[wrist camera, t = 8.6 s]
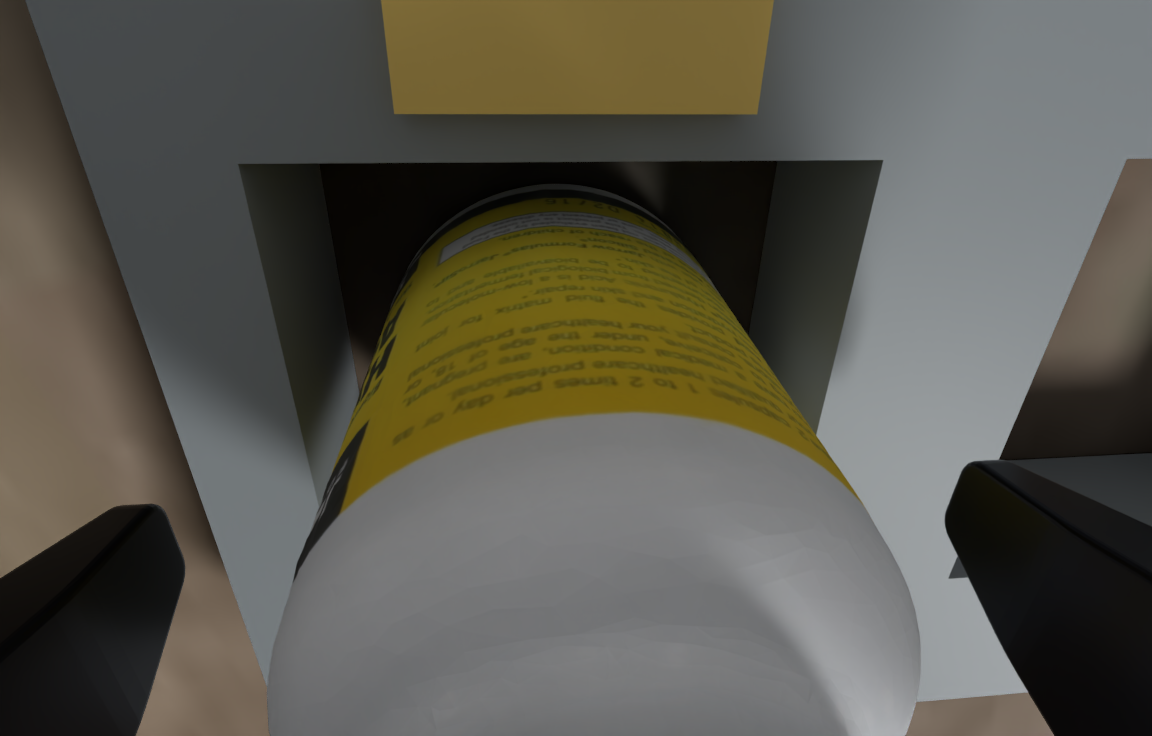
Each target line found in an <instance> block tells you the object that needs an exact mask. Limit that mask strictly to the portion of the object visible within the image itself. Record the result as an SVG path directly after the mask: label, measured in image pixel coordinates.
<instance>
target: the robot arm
mask: <svg viewBox="0 0 1152 736" xmlns="http://www.w3.org/2000/svg"><path fill="white" fill-rule="evenodd" d="M944 521H945V528H946V532H947V535H948V537H949V539H950V541H951V543H952V545H953V547H954V550H955V552H956V554H957V556H958V558H959V560H960V562H961V564H962V566H963V568H964V570H965V572H966V574H967V577H968V579H969V581H970V583H971V585H972V587H973V589H974V591H975V593H976V595H977V597H978V599H979V601H980V603H981V606H982V608H983V610H984V612H985V614H986V616H987V618H988V620H989V622H990V624H991V626H992V628H993V630H994V632H995V634H996V636H997V638H998V640H999V642H1000V644H1001V646H1002V648H1003V650H1004V652H1005V654H1006V655H1007V657H1008V659H1009V661H1010V662H1011V664H1012V666H1013V668H1014V669H1015V671H1016V673H1017V675H1018V676H1019V678H1020V680H1021V681H1022V683H1023V685H1024V686H1025V688H1026V690H1027V691H1028V693H1029V695H1030V696H1031V698H1032V699H1033V701H1034V703H1035V704H1036V706H1037V708H1038V709H1039V711H1040V713H1041V714H1042V716H1043V718H1044V719H1045V721H1046V723H1047V724H1048V726H1049V728H1050V729H1051V731H1052V733H1053V734H1054V736H1152V526H1150V525H1147V524H1145V523H1143V522H1141V521H1139V520H1136V519H1134V518H1132V517H1130V516H1128V515H1126V514H1123V513H1121V512H1119V511H1117V510H1115V509H1112V508H1110V507H1108V506H1106V505H1104V504H1102V503H1099V502H1097V501H1095V500H1093V499H1091V498H1088V497H1086V496H1084V495H1082V494H1080V493H1077V492H1075V491H1073V490H1071V489H1069V488H1067V487H1064V486H1062V485H1060V484H1058V483H1056V482H1053V481H1051V480H1049V479H1047V478H1045V477H1043V476H1040V475H1038V474H1036V473H1034V472H1032V471H1029V470H1027V469H1025V468H1023V467H1021V466H1018V465H1016V464H1014V463H1012V462H1009V461H1006V460H982V461H973V462H970V463H968V464H967V465H966V466H965V467H964V468H963V469H962V471H961V473H960V476H959V478H958V481H957V484H956V486H955V489H954V491H953V494H952V496H951V499H950V501H949V504H948V506H947V509H946V512H945V519H944ZM184 577H185V562H184V558H183V555H182V552H181V550H180V547H179V545H178V542H177V540H176V537H175V534H174V532H173V529H172V527H171V524H170V522H169V519H168V517H167V515H166V513H165V511H164V510H163V509H162V508H161V507H160V506H158V505H155V504H138V505H122V506H116V507H113V508H111V509H109V510H108V511H106V512H105V513H103V514H101V515H100V516H98V517H97V518H95V519H93V520H92V521H90V522H89V523H87V524H86V525H84V526H82V527H81V528H79V529H78V530H76V531H74V532H73V533H71V534H70V535H68V536H66V537H65V538H63V539H62V540H60V541H59V542H57V543H55V544H54V545H52V546H51V547H49V548H47V549H46V550H44V551H43V552H41V553H40V554H38V555H36V556H35V557H33V558H32V559H30V560H28V561H27V562H25V563H24V564H22V565H20V566H19V567H17V568H16V569H14V570H13V571H11V572H9V573H8V574H6V575H5V576H3V577H1V578H0V736H136V733H137V730H138V728H139V725H140V723H141V720H142V717H143V714H144V711H145V708H146V705H147V702H148V699H149V696H150V692H151V689H152V686H153V682H154V679H155V676H156V672H157V669H158V666H159V662H160V659H161V656H162V652H163V649H164V646H165V643H166V639H167V636H168V633H169V629H170V626H171V623H172V619H173V616H174V613H175V609H176V606H177V603H178V599H179V596H180V593H181V589H182V586H183V582H184Z"/></svg>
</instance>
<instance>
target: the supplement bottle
mask: <svg viewBox="0 0 1152 736" xmlns="http://www.w3.org/2000/svg"><path fill="white" fill-rule="evenodd" d="M920 674H921V644H920V633H919V628H918V622H917V617H916V611H915V608H914V604H913V601H912V598H911V595H910V591H909V588H908V586H907V583H906V581H905V579H904V577H903V574H902V572H901V570H900V568H899V566H898V564H897V562H896V560H895V558H894V556H893V554H892V552H891V551H890V549H889V547H888V545H887V544H886V542H885V541H884V539H883V537H882V536H881V534H880V532H879V531H878V529H877V527H876V526H875V524H874V522H873V520H872V518H871V517H870V515H869V513H868V511H867V510H866V508H865V506H864V505H863V503H862V501H861V500H860V498H859V497H858V495H857V494H856V492H855V491H854V489H853V488H852V487H851V485H850V484H849V482H848V481H847V479H846V478H845V476H844V475H843V473H842V472H841V470H840V469H839V468H838V466H837V465H836V464H835V462H834V461H833V460H832V458H831V457H830V455H829V454H828V452H827V450H826V449H825V447H824V446H823V444H822V443H821V442H820V440H819V439H818V437H817V436H816V435H815V433H814V432H813V430H812V429H811V427H810V426H809V424H808V423H807V422H806V420H805V419H804V417H803V416H802V414H801V413H800V411H799V410H798V409H797V407H796V406H795V404H794V403H793V401H792V400H791V398H790V396H789V395H788V393H787V392H786V391H785V389H784V388H783V386H782V385H781V383H780V382H779V380H778V379H777V377H776V376H775V374H774V373H773V371H772V370H771V368H770V367H769V366H768V364H767V363H766V361H765V359H764V358H763V357H762V355H761V354H760V352H759V351H758V349H757V348H756V347H755V345H754V344H753V342H752V341H751V339H750V338H749V336H748V335H747V334H746V332H745V331H744V329H743V328H742V326H741V325H740V323H739V322H738V320H737V319H736V317H735V316H734V314H733V313H732V311H731V310H730V308H729V307H728V306H727V304H726V303H725V301H724V300H723V298H722V297H721V295H720V294H719V292H718V291H717V289H716V288H715V286H714V285H713V283H712V281H711V280H710V279H709V277H708V276H707V274H706V273H705V271H704V270H703V269H702V267H701V266H700V264H699V263H698V262H697V260H696V259H695V257H694V256H693V255H692V254H691V252H690V251H689V250H688V249H687V247H686V246H685V245H684V244H683V242H682V241H681V240H680V239H679V238H678V237H677V236H676V235H675V233H674V232H673V231H672V230H671V229H670V228H669V227H668V226H667V225H666V224H664V223H663V222H662V221H661V220H660V219H658V218H657V217H656V216H654V215H653V214H652V213H650V212H649V211H647V210H646V209H644V208H642V207H640V206H639V205H637V204H635V203H633V202H631V201H629V200H627V199H625V198H623V197H621V196H618V195H616V194H613V193H610V192H607V191H604V190H600V189H596V188H592V187H586V186H581V185H572V184H540V185H532V186H526V187H521V188H517V189H513V190H509V191H504V192H502V193H499V194H496V195H493V196H490V197H488V198H485V199H483V200H481V201H479V202H477V203H475V204H473V205H471V206H469V207H468V208H466V209H464V210H463V211H461V212H459V213H458V214H456V215H455V216H454V217H452V218H451V219H449V220H448V221H447V222H445V223H444V224H443V225H442V226H441V227H439V228H438V229H437V230H436V231H435V232H434V233H433V234H432V235H431V236H430V237H429V239H428V240H427V241H426V242H425V243H424V245H423V246H422V247H421V248H420V250H419V251H418V252H417V254H416V255H415V257H414V258H413V260H412V262H411V263H410V265H409V267H408V269H407V271H406V272H405V274H404V276H403V278H402V280H401V282H400V285H399V287H398V290H397V292H396V294H395V296H394V299H393V301H392V303H391V305H390V308H389V311H388V315H387V318H386V322H385V324H384V327H383V330H382V333H381V336H380V338H379V341H378V343H377V346H376V349H375V352H374V355H373V358H372V361H371V364H370V366H369V369H368V372H367V375H366V377H365V380H364V383H363V385H362V388H361V391H360V394H359V397H358V400H357V403H356V406H355V408H354V411H353V414H352V417H351V420H350V423H349V426H348V429H347V432H346V435H345V437H344V440H343V443H342V446H341V449H340V451H339V454H338V457H337V460H336V463H335V466H334V469H333V471H332V474H331V477H330V479H329V481H328V483H327V486H326V489H325V492H324V495H323V499H322V502H321V504H320V506H319V509H318V511H317V514H316V517H315V520H314V523H313V526H312V529H311V531H310V534H309V536H308V538H307V540H306V542H305V545H304V548H303V550H302V553H301V555H300V557H299V559H298V562H297V565H296V570H295V574H294V579H293V584H292V586H291V588H290V593H289V597H288V601H287V603H286V606H285V609H284V612H283V616H282V620H281V623H280V626H279V629H278V632H277V635H276V638H275V641H274V644H273V650H272V656H271V662H270V669H269V676H268V686H267V707H268V726H269V733H270V736H905V735H906V733H907V730H908V727H909V724H910V721H911V718H912V715H913V712H914V709H915V704H916V700H917V696H918V690H919V685H920Z"/></svg>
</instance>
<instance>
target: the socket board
mask: <svg viewBox="0 0 1152 736" xmlns="http://www.w3.org/2000/svg"><path fill="white" fill-rule="evenodd" d="M25 1H26V4H27V7H28V10H29V13H30V15H31V18H32V21H33V24H34V27H35V30H36V33H37V35H38V38H39V41H40V44H41V47H42V50H43V52H44V55H45V58H46V61H47V64H48V67H49V69H50V72H51V75H52V78H53V81H54V84H55V86H56V89H57V92H58V95H59V98H60V101H61V104H62V106H63V109H64V112H65V115H66V118H67V121H68V123H69V126H70V129H71V132H72V135H73V138H74V140H75V143H76V146H77V149H78V152H79V155H80V157H81V160H82V163H83V166H84V169H85V172H86V174H87V177H88V180H89V183H90V186H91V189H92V192H93V194H94V197H95V200H96V203H97V206H98V209H99V211H100V214H101V217H102V220H103V223H104V226H105V228H106V231H107V234H108V237H109V240H110V243H111V245H112V248H113V251H114V254H115V257H116V260H117V262H118V265H119V268H120V271H121V274H122V277H123V280H124V282H125V285H126V288H127V291H128V294H129V297H130V299H131V302H132V305H133V308H134V311H135V314H136V316H137V319H138V322H139V325H140V328H141V331H142V333H143V336H144V339H145V342H146V345H147V348H148V351H149V353H150V356H151V359H152V362H153V365H154V368H155V370H156V373H157V376H158V379H159V382H160V385H161V387H162V390H163V393H164V396H165V399H166V402H167V404H168V407H169V410H170V413H171V416H172V419H173V421H174V424H175V427H176V430H177V433H178V436H179V439H180V441H181V444H182V447H183V450H184V453H185V456H186V458H187V461H188V464H189V467H190V470H191V473H192V475H193V478H194V481H195V484H196V487H197V490H198V492H199V495H200V498H201V501H202V504H203V507H204V510H205V512H206V515H207V518H208V521H209V524H210V527H211V529H212V532H213V535H214V538H215V541H216V544H217V546H218V549H219V552H220V555H221V558H222V561H223V563H224V566H225V569H226V572H227V575H228V578H229V580H230V583H231V586H232V589H233V592H234V595H235V598H236V600H237V603H238V606H239V609H240V612H241V615H242V617H243V620H244V623H245V626H246V629H247V632H248V634H249V637H250V640H251V643H252V646H253V649H254V651H255V654H256V657H257V660H258V663H259V666H260V669H261V671H262V674H263V677H264V680H265V683H266V686H268V676H269V669H270V662H271V656H272V650H273V644H274V641H275V638H276V635H277V632H278V629H279V626H280V623H281V620H282V616H283V612H284V609H285V606H286V603H287V601H288V597H289V593H290V588H291V586H292V584H293V579H294V574H295V570H296V565H297V562H298V559H299V557H300V555H301V553H302V550H303V548H304V545H305V542H306V540H307V538H308V536H309V534H310V531H311V529H312V526H313V523H314V520H315V517H316V514H317V511H318V509H319V506H320V504H321V502H322V499H323V495H324V492H325V489H326V486H327V483H328V481H329V479H330V477H331V474H332V471H333V469H334V466H335V463H336V460H337V457H338V454H339V451H340V449H341V446H342V443H343V440H344V437H345V435H346V432H347V429H348V426H349V423H350V420H351V417H352V414H353V411H354V408H355V406H356V403H357V400H358V397H359V388H358V383H357V377H356V371H355V366H354V360H353V354H352V349H351V343H350V337H349V331H348V326H347V320H346V314H345V309H344V303H343V297H342V292H341V286H340V280H339V275H338V269H337V263H336V258H335V252H334V246H333V240H332V235H331V229H330V223H329V218H328V212H327V206H326V201H325V195H324V189H323V184H322V178H321V172H320V167H319V163H469V162H638V161H777V166H776V172H775V178H774V184H773V190H772V196H771V202H770V209H769V215H768V221H767V227H766V233H765V239H764V245H763V251H762V257H761V263H760V269H759V275H758V281H757V287H756V293H755V299H754V305H753V311H752V317H751V323H750V329H749V335H748V336H749V338H750V339H751V341H752V342H753V344H754V345H755V347H756V348H757V349H758V351H759V352H760V354H761V355H762V357H763V358H764V359H765V361H766V363H767V364H768V366H769V367H770V368H771V370H772V371H773V373H774V374H775V376H776V377H777V379H778V380H779V382H780V383H781V385H782V386H783V388H784V389H785V391H786V392H787V393H788V395H789V396H790V398H791V400H792V401H793V403H794V404H795V406H796V407H797V409H798V410H799V411H800V413H801V414H802V416H803V417H804V419H805V420H806V422H807V423H808V424H809V426H810V427H811V429H812V430H813V432H814V433H815V435H816V436H817V437H818V439H819V440H820V442H821V443H822V444H823V446H824V447H825V449H826V450H827V452H828V454H829V455H830V457H831V458H832V460H833V461H834V462H835V464H836V465H837V466H838V468H839V469H840V470H841V472H842V473H843V475H844V476H845V478H846V479H847V481H848V482H849V484H850V485H851V487H852V488H853V489H854V491H855V492H856V494H857V495H858V497H859V498H860V500H861V501H862V503H863V505H864V506H865V508H866V510H867V511H868V513H869V515H870V517H871V518H872V520H873V522H874V524H875V526H876V527H877V529H878V531H879V532H880V534H881V536H882V537H883V539H884V541H885V542H886V544H887V545H888V547H889V549H890V551H891V552H892V554H893V556H894V558H895V560H896V562H897V564H898V566H899V568H900V570H901V572H902V574H903V577H904V579H905V581H906V583H907V586H908V588H909V591H910V595H911V598H912V601H913V604H914V608H915V611H916V617H917V622H918V628H919V633H920V644H921V674H920V685H919V690H918V696H917V700H916V702H922V701H933V700H945V699H956V698H968V697H979V696H991V695H1002V694H1014V693H1025V692H1028V691H1027V690H1026V688H1025V686H1024V685H1023V683H1022V681H1021V680H1020V678H1019V676H1018V675H1017V673H1016V671H1015V669H1014V668H1013V666H1012V664H1011V662H1010V661H1009V659H1008V657H1007V655H1006V654H1005V652H1004V650H1003V648H1002V646H1001V644H1000V642H999V640H998V638H997V636H996V634H995V632H994V630H993V628H992V626H991V624H990V622H989V620H988V618H987V616H986V614H985V612H984V610H983V608H982V606H981V603H980V601H979V599H978V597H977V595H976V593H975V591H974V589H973V587H972V585H971V583H970V581H969V579H968V577H967V574H966V572H965V570H964V568H963V566H962V564H961V562H960V560H959V558H958V556H957V554H956V552H955V550H954V547H953V545H952V543H951V541H950V539H949V537H948V535H947V532H946V528H945V521H944V519H945V512H946V509H947V506H948V504H949V501H950V499H951V496H952V494H953V491H954V489H955V486H956V484H957V481H958V478H959V476H960V473H961V471H962V469H963V468H964V467H965V466H966V465H967V464H968V463H970V462H973V461H982V460H999V458H1000V456H1001V453H1002V451H1003V448H1004V446H1005V444H1006V441H1007V439H1008V437H1009V434H1010V432H1011V430H1012V427H1013V425H1014V423H1015V420H1016V418H1017V416H1018V413H1019V411H1020V409H1021V406H1022V404H1023V402H1024V399H1025V397H1026V394H1027V392H1028V390H1029V387H1030V385H1031V383H1032V380H1033V378H1034V376H1035V373H1036V371H1037V369H1038V366H1039V364H1040V362H1041V359H1042V357H1043V355H1044V352H1045V350H1046V347H1047V345H1048V343H1049V340H1050V338H1051V336H1052V333H1053V331H1054V329H1055V326H1056V324H1057V322H1058V319H1059V317H1060V315H1061V312H1062V310H1063V308H1064V305H1065V303H1066V301H1067V298H1068V296H1069V293H1070V291H1071V289H1072V286H1073V284H1074V282H1075V279H1076V277H1077V275H1078V272H1079V270H1080V268H1081V265H1082V263H1083V261H1084V258H1085V256H1086V254H1087V251H1088V249H1089V246H1090V244H1091V242H1092V239H1093V237H1094V235H1095V232H1096V230H1097V228H1098V225H1099V223H1100V221H1101V218H1102V216H1103V214H1104V211H1105V209H1106V207H1107V204H1108V202H1109V200H1110V197H1111V195H1112V192H1113V190H1114V188H1115V185H1116V183H1117V181H1118V178H1119V176H1120V174H1121V171H1122V169H1123V167H1124V164H1125V162H1126V160H1127V159H1144V158H1152V0H25ZM1009 462H1012V463H1014V464H1016V465H1018V466H1021V467H1023V468H1025V469H1027V470H1029V471H1032V472H1034V473H1036V474H1038V475H1040V476H1043V477H1045V478H1047V479H1049V480H1051V481H1053V482H1056V483H1058V484H1060V485H1062V486H1064V487H1067V488H1069V489H1071V490H1073V491H1075V492H1077V493H1080V494H1082V495H1084V496H1086V497H1088V498H1091V499H1093V500H1095V501H1097V502H1099V503H1102V504H1104V505H1106V506H1108V507H1110V508H1112V509H1115V510H1117V511H1119V512H1121V513H1123V514H1126V515H1128V516H1130V517H1132V518H1134V519H1136V520H1139V521H1141V522H1143V523H1145V524H1147V525H1150V526H1152V453H1145V454H1126V455H1106V456H1087V457H1067V458H1048V459H1029V460H1009Z"/></svg>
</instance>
